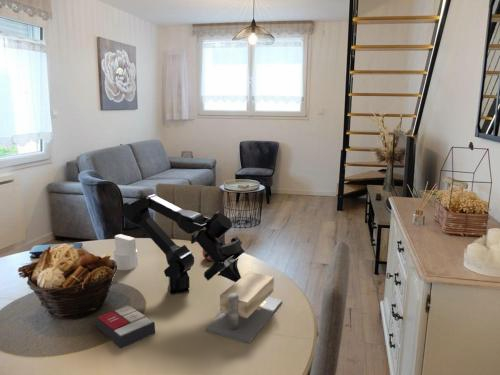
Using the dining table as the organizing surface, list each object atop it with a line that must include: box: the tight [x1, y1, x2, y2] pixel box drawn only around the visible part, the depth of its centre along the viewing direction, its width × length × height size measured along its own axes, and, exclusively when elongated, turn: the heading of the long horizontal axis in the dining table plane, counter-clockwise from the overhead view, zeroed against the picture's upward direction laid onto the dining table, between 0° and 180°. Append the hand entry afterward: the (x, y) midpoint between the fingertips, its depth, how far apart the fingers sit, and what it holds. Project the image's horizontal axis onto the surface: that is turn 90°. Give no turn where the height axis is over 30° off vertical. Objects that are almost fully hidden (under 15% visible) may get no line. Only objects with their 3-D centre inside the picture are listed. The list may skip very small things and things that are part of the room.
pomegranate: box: [202, 249, 213, 262], centre depth 171 cm, size 7×7×10 cm
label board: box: [205, 296, 283, 344], centre depth 129 cm, size 14×26×1 cm, turn 155°
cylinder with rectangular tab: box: [113, 233, 139, 271], centre depth 163 cm, size 9×9×12 cm
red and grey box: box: [95, 305, 156, 349], centre depth 120 cm, size 11×4×15 cm
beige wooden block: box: [219, 271, 275, 330], centre depth 127 cm, size 9×20×10 cm, turn 154°
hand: (241, 283), depth 133 cm, fingers closed, pressing on beige wooden block
